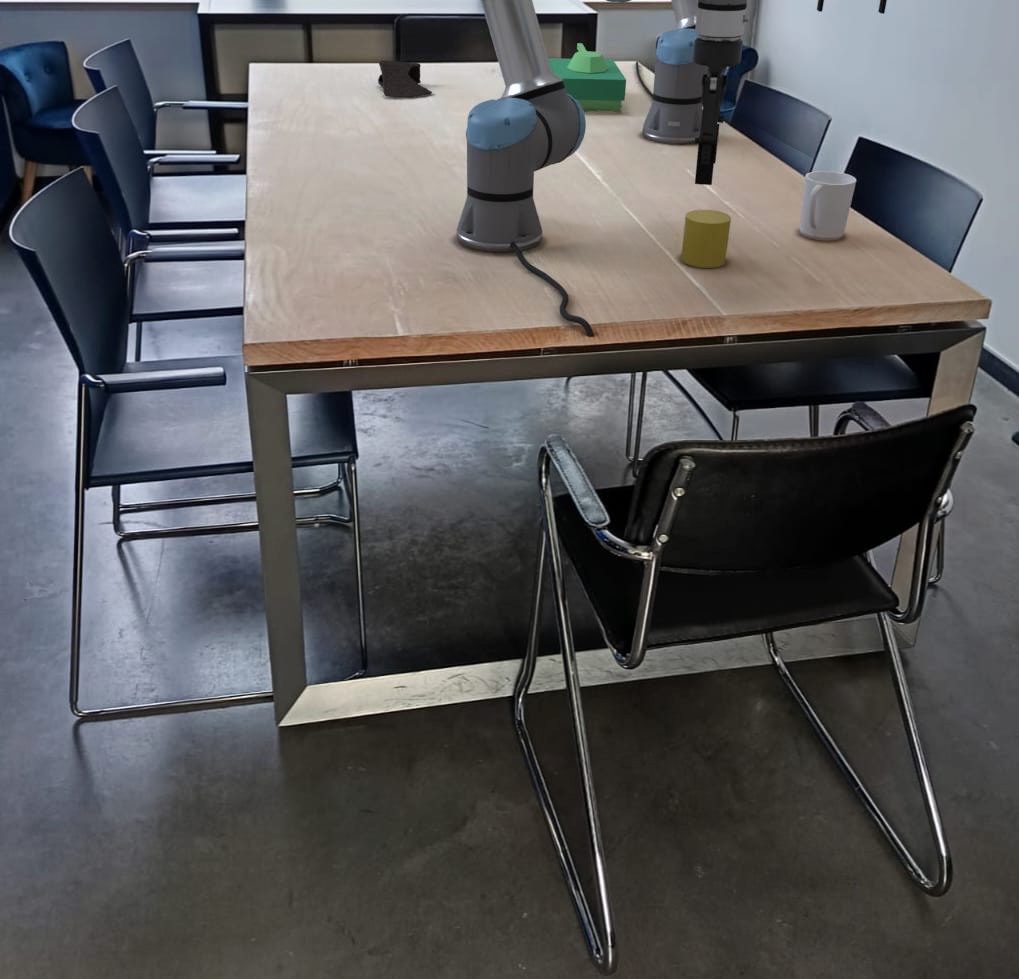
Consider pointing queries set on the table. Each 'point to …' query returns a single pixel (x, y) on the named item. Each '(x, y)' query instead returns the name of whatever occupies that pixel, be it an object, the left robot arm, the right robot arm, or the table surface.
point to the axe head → (401, 79)
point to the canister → (705, 238)
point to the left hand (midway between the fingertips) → (705, 173)
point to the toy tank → (591, 80)
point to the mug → (826, 204)
